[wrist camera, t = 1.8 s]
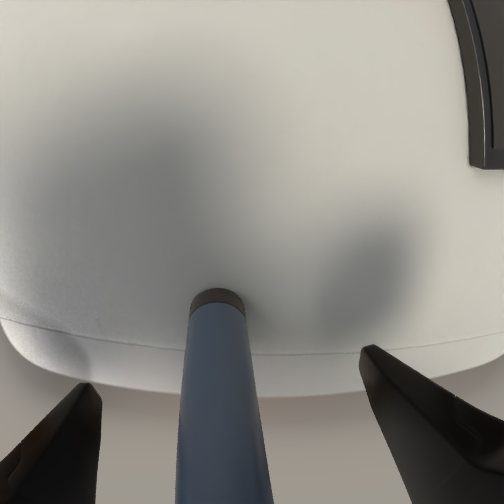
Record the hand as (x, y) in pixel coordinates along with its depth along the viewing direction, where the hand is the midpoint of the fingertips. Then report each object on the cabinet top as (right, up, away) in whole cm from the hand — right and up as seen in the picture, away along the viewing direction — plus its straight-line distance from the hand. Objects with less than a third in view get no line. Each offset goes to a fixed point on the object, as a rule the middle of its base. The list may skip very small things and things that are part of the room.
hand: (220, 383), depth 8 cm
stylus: (0, +2, +3) cm, 4 cm away
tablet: (+16, +23, -5) cm, 29 cm away
